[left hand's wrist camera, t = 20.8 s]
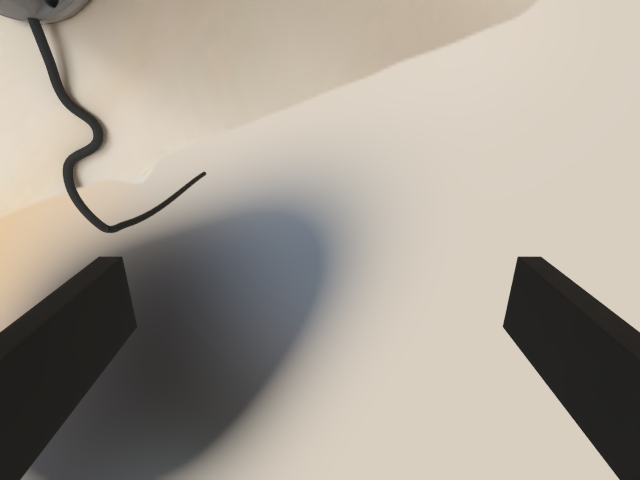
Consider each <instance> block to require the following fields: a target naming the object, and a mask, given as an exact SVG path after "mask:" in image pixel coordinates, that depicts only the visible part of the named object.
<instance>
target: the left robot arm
mask: <svg viewBox="0 0 640 480" xmlns="http://www.w3.org/2000/svg"><path fill="white" fill-rule="evenodd" d="M89 1H90V0H0V15H2V16H5V17H8V18H12V19H16V20H21V21H25V22H29V24H30V27H31V29H32V32H33V34H34V37H35V39H36V42H37V45H38V47H39V50H40V52H41V55H42V57H43V60H44V62H45V65H46V68H47V71H48V74H49V77H50V80H51V83H52V86H53V88H54V90H55V92H56V94H57V96H58V98H59V99H60V101H61V102H62V103H63V105H64V106H65V107H66V108H67V109H68V110H70V111H71V112H72V113H73V114H75V115H76V116H78V117H79V118H81V119H82V120H84V121H85V122H86V123H88V124H89V125H90V127H91V128H92V130H93V140H92V142H91V143H90V144H88V145H87V146H85V147H83V148H81V149H79V150H77V151H76V152H74V153H72V154H71V155H69V157H68V158H67V159H66V160H65V162H64V165H63V178H64V183H65V187H66V189H67V192H68V194H69V196H70V198H71V200H72V201H73V203H74V204H75V206H76V207H77V208H78V210H79V211H80V212H81V213H82V214H83V215H84V216H85V217H86V218H87V219H88V220H89V221H90V222H91V223H92V224H93V225H94V226H95V227H97V228H98V229H100V230H101V231H103V232H106V233H115V232H118V231H120V230H122V229H125V228H127V227H130V226H133V225H135V224H138V223H140V222H142V221H144V220H146V219H148V218H149V217H151V216H153V215H154V214H156V213H157V212H159V211H160V210H162V209H163V208H165V207H166V206H167V205H169V204H170V203H171V202H173V201H174V200H175V199H176V198H178V197H179V196H180V195H181V194H182V193H184V192H185V191H186V190H187V189H188V188H190V187H191V186H192V185H193V184H194V183H196V182H197V181H198V180H199V179H201V178H202V177H204V176H205V175H206V172H202V173H201V174H199V175H198V176H196V177H195V178H193V179H192V180H191V181H190V182H188V183H187V184H186V185H184V186H183V187H182V188H181V189H179V190H178V191H177V192H175V193H174V194H173V195H172V196H170V197H169V198H168V199H166V200H165V201H163V202H162V203H161V204H159V205H158V206H156V207H154V208H153V209H151V210H149V211H147V212H146V213H144V214H142V215H139V216H137V217H135V218H132V219H129V220H126V221H123V222H120V223H118V224H116V225H113V226H109V225H106V224H105V223H103V222H102V221H101V220H100V219H99V218H97V217H96V216H95V215H94V214H93V213H92V212H91V211H90V210H89V208H88V207H87V206H86V205H85V204H84V202H83V201H82V199H81V198H80V196H79V194H78V192H77V190H76V187H75V184H74V181H73V171H72V170H73V166H74V164H75V163H76V162H77V161H79V160H80V159H82V158H84V157H86V156H88V155H90V154H92V153H94V152H95V151H96V150H98V149H99V147H100V146H101V144H102V141H103V132H102V128H101V126H100V124H99V123H98V122H97V120H96V119H95V118H94V117H92V116H91V115H90V114H88V113H87V112H86V111H84V110H83V109H81V108H80V107H78V106H77V105H76V104H75V103H73V102H72V101H71V99H70V98H69V97H68V95H67V93H66V92H65V90H64V87H63V85H62V82H61V79H60V76H59V73H58V70H57V66H56V63H55V61H54V58H53V55H52V53H51V50H50V47H49V45H48V42H47V40H46V37H45V34H44V32H43V29H42V26H41V24H49V23H56V22H59V21H63V20H65V19H68V18H70V17H72V16H73V15H75V14H76V13H78V12H79V11H80V10H81V9H82V8H83V7H85V5H86V4H87V3H88V2H89ZM503 327H504V329H505V330H506V332H507V333H508V334H509V335H510V337H511V338H512V339H513V341H514V342H515V343H516V345H517V346H518V347H519V349H520V350H521V351H522V352H523V354H524V355H525V356H526V358H527V359H528V360H529V361H530V363H531V364H532V366H533V367H534V368H535V369H536V371H537V372H538V373H539V375H540V376H541V377H542V379H543V380H544V381H545V383H546V384H547V385H548V386H549V388H550V389H551V390H552V392H553V393H554V394H555V396H556V397H557V398H558V400H559V401H560V402H561V403H562V405H563V406H564V407H565V409H566V410H567V411H568V413H569V414H570V415H571V417H572V418H573V419H574V420H575V422H576V423H577V424H578V426H579V427H580V428H581V430H582V431H583V432H584V433H585V435H586V436H587V437H588V439H589V440H590V441H591V443H592V444H593V445H594V447H595V448H596V449H597V451H598V452H599V453H600V454H601V456H602V457H603V458H604V460H605V461H606V462H607V464H608V465H609V466H610V468H611V469H612V470H613V471H614V473H615V474H616V475H617V477H618V478H619V479H620V480H640V332H638V331H637V330H636V329H634V328H633V327H632V326H631V325H629V324H628V323H627V322H625V321H624V320H623V319H621V318H620V317H619V316H618V315H616V314H615V313H614V312H612V311H611V310H610V309H608V308H607V307H606V306H605V305H603V304H602V303H601V302H599V301H598V300H597V299H595V298H594V297H593V296H592V295H590V294H589V293H588V292H586V291H585V290H584V289H582V288H581V287H580V286H578V285H577V284H576V283H575V282H573V281H572V280H571V279H569V278H568V277H567V276H565V275H564V274H563V273H561V272H560V271H559V270H558V269H556V268H555V267H554V266H552V265H551V264H550V263H548V262H547V261H546V260H544V259H543V258H542V257H518V258H517V263H516V268H515V272H514V277H513V282H512V286H511V291H510V296H509V300H508V305H507V310H506V315H505V319H504V324H503ZM136 328H137V324H136V319H135V315H134V310H133V305H132V300H131V296H130V291H129V286H128V282H127V277H126V272H125V268H124V263H123V258H122V257H98V258H97V259H96V260H94V261H93V262H92V263H90V264H89V265H88V266H86V267H85V268H84V269H82V270H81V271H80V272H79V273H77V274H76V275H75V276H73V277H72V278H71V279H69V280H68V281H67V282H66V283H64V284H63V285H62V286H60V287H59V288H58V289H56V290H55V291H54V292H52V293H51V294H50V295H48V296H47V297H46V298H45V299H43V300H42V301H41V302H39V303H38V304H37V305H35V306H34V307H33V308H32V309H30V310H29V311H28V312H26V313H25V314H24V315H22V316H21V317H20V318H19V319H17V320H16V321H15V322H13V323H12V324H11V325H9V326H8V327H7V328H5V329H4V330H3V331H1V332H0V480H20V479H21V478H22V477H23V475H24V474H25V473H26V471H27V470H28V469H29V468H30V466H31V465H32V464H33V462H34V461H35V460H36V458H37V457H38V456H39V454H40V453H41V452H42V451H43V449H44V448H45V447H46V445H47V444H48V443H49V441H50V440H51V439H52V437H53V436H54V435H55V434H56V432H57V431H58V430H59V428H60V427H61V426H62V424H63V423H64V422H65V420H66V419H67V418H68V416H69V415H70V414H71V413H72V411H73V410H74V409H75V407H76V406H77V405H78V403H79V402H80V401H81V399H82V398H83V397H84V396H85V394H86V393H87V392H88V390H89V389H90V388H91V386H92V385H93V384H94V383H95V381H96V380H97V379H98V377H99V376H100V375H101V373H102V372H103V371H104V369H105V368H106V367H107V366H108V364H109V363H110V362H111V360H112V359H113V358H114V356H115V355H116V354H117V352H118V351H119V350H120V349H121V347H122V346H123V345H124V343H125V342H126V341H127V339H128V338H129V337H130V335H131V334H132V333H133V332H134V330H135V329H136Z"/></svg>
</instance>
